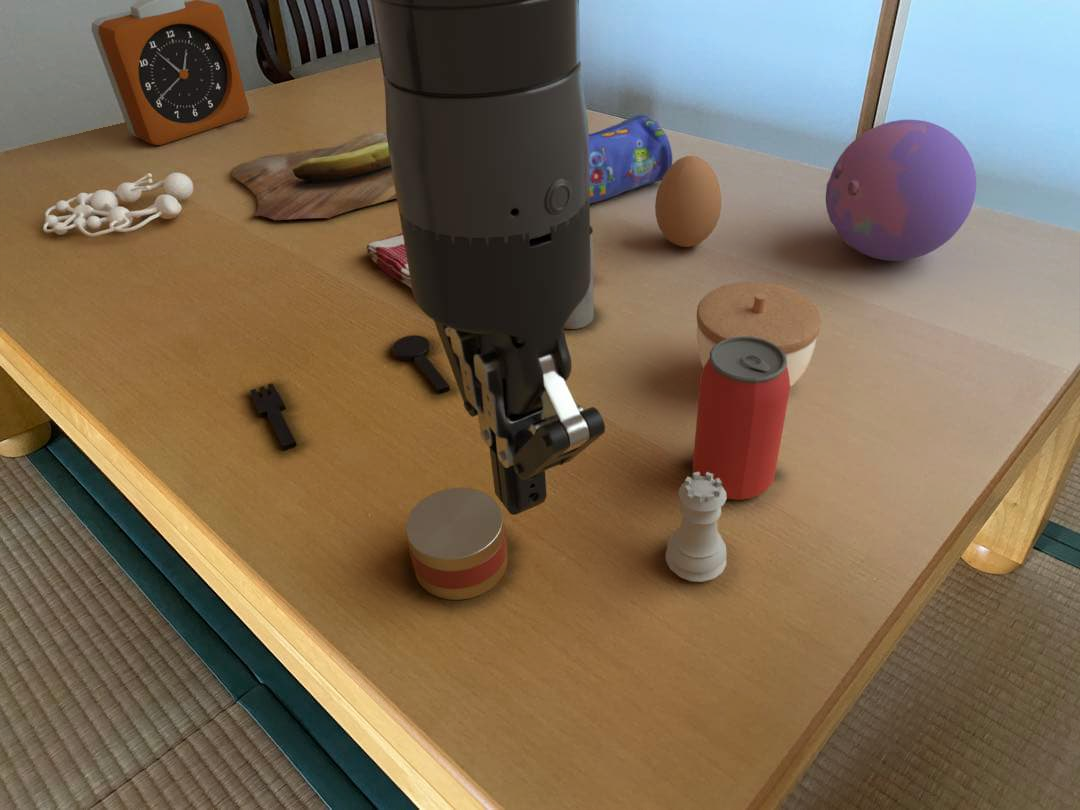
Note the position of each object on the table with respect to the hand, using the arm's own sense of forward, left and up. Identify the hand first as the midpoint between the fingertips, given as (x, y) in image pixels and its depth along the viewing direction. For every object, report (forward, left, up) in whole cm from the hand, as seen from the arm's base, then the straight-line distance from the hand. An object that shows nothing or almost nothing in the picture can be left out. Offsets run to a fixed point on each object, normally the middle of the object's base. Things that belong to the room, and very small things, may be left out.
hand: (521, 500), depth 43 cm
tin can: (+7, +10, -17) cm, 21 cm away
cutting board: (+66, +62, -17) cm, 92 cm away
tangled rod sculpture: (+41, +83, -17) cm, 94 cm away
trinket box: (+37, -4, -17) cm, 41 cm away
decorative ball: (+67, -12, -17) cm, 70 cm away
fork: (+15, +35, -17) cm, 41 cm away
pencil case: (+69, +26, -17) cm, 76 cm away
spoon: (+27, +26, -17) cm, 41 cm away
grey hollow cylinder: (+41, +16, -17) cm, 47 cm away
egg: (+61, +10, -17) cm, 64 cm away
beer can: (+24, -6, -17) cm, 30 cm away
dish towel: (+46, +31, -17) cm, 58 cm away
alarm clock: (+72, +101, -17) cm, 125 cm away
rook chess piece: (+14, -6, -17) cm, 23 cm away
